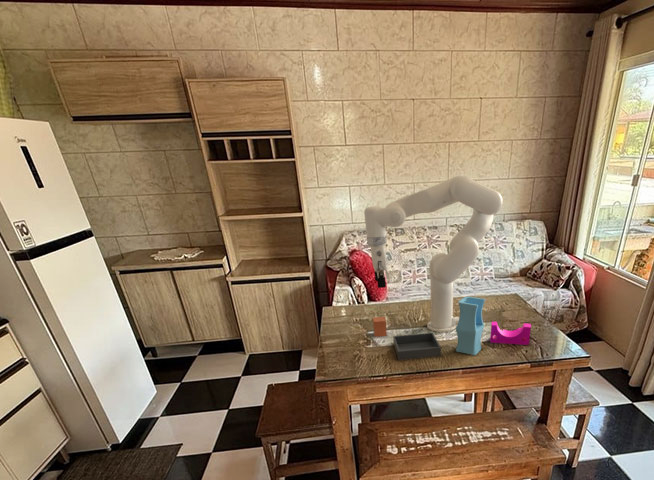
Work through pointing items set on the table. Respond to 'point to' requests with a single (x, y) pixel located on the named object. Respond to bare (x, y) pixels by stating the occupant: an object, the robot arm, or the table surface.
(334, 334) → the table surface
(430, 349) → the tub
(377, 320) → the wooden block
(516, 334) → the toy block
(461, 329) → the vase
